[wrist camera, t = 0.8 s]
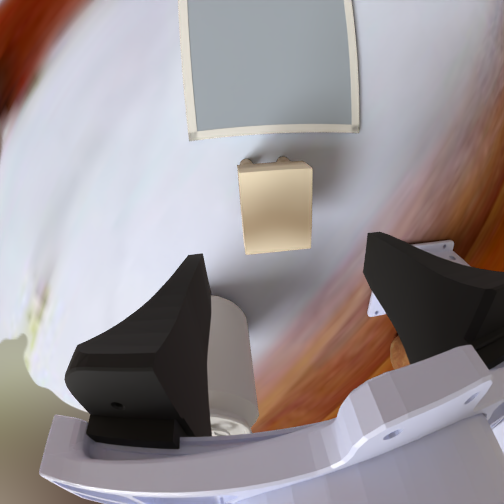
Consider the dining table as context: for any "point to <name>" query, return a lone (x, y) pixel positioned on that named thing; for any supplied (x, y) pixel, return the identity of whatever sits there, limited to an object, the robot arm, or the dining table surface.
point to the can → (230, 371)
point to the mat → (268, 67)
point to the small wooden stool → (275, 205)
